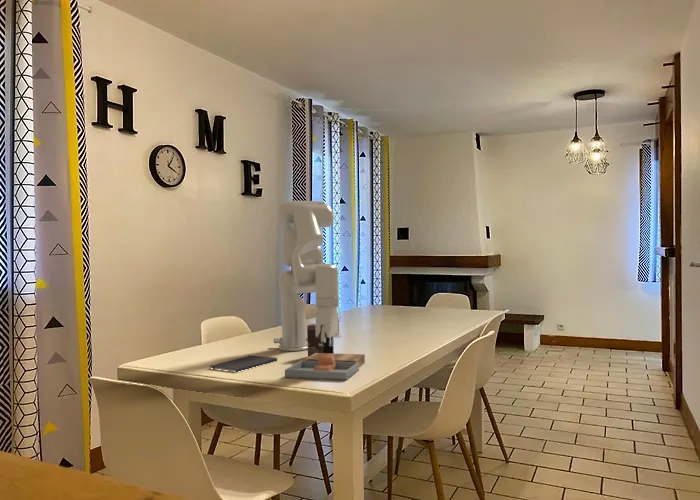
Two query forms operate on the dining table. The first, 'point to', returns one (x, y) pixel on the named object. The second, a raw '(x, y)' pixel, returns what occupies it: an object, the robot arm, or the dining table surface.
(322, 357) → the tile
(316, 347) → the box
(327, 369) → the tile
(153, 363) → the dining table surface
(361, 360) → the brown slab
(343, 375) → the tray
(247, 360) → the notebook
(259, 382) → the dining table surface
